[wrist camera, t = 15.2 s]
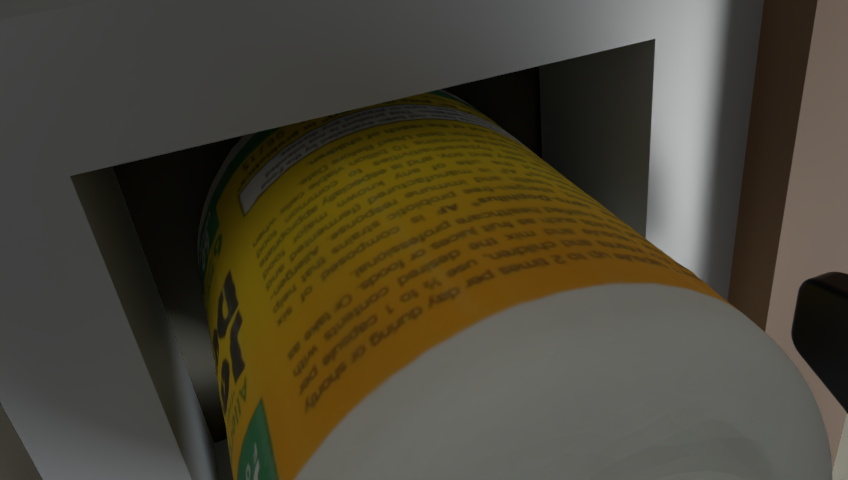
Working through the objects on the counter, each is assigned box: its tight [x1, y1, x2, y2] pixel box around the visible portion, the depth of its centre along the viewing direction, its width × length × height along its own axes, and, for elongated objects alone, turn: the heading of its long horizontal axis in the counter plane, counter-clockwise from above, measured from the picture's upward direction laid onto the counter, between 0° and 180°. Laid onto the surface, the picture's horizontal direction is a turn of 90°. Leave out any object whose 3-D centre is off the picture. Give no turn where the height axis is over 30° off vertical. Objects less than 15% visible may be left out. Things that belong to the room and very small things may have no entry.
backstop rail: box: [728, 0, 848, 470], centre depth 12 cm, size 2×22×4 cm, turn 7°
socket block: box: [0, 0, 764, 480], centre depth 11 cm, size 10×10×3 cm
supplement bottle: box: [197, 89, 832, 480], centre depth 8 cm, size 5×5×10 cm
